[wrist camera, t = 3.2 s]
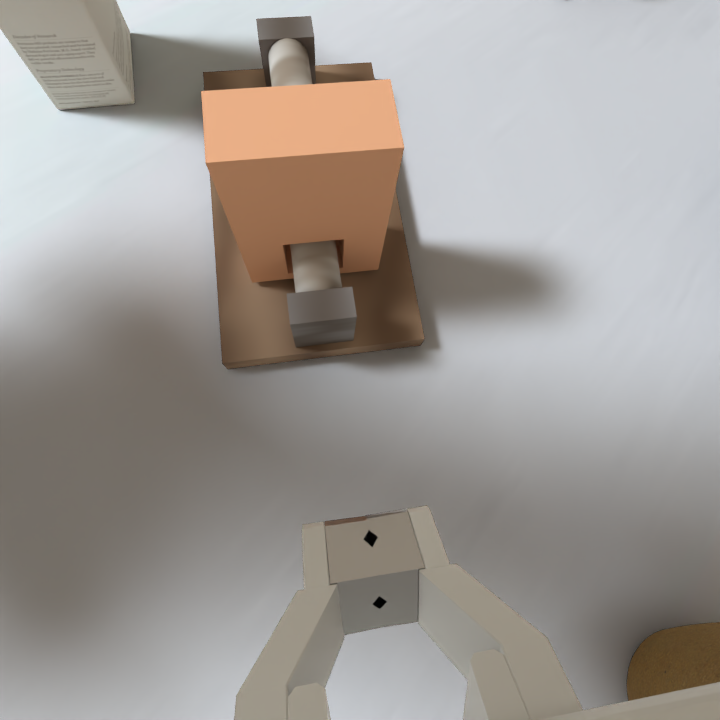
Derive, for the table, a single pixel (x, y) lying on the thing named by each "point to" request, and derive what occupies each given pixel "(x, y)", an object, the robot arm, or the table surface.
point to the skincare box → (73, 49)
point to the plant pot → (675, 660)
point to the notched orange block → (304, 169)
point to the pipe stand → (308, 249)
